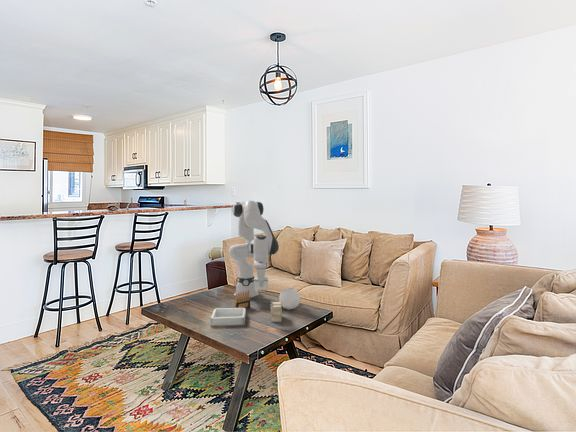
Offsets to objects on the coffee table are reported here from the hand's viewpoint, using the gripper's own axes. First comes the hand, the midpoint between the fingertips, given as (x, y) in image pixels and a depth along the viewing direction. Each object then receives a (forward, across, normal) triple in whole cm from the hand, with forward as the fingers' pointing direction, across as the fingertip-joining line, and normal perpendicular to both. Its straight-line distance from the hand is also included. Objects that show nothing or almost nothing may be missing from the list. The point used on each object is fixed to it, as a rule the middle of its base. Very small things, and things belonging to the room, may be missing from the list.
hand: (261, 285), depth 211 cm
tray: (+21, 0, -20) cm, 29 cm away
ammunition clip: (+21, -20, -13) cm, 32 cm away
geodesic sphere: (+21, -18, +18) cm, 33 cm away
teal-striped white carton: (+3, 0, 0) cm, 3 cm away
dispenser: (+21, 0, +9) cm, 23 cm away
